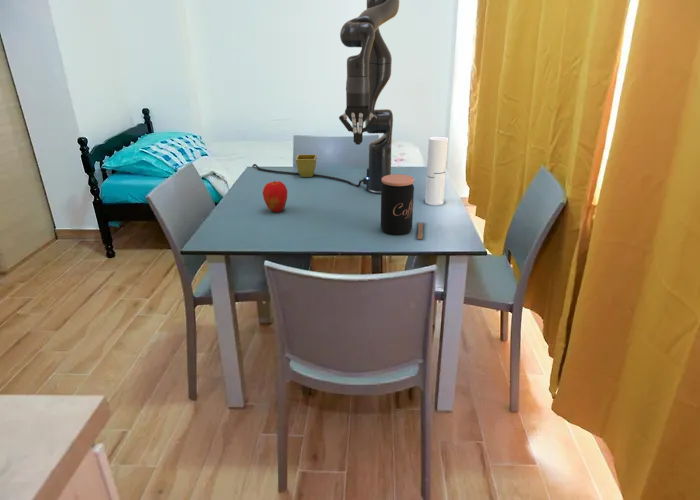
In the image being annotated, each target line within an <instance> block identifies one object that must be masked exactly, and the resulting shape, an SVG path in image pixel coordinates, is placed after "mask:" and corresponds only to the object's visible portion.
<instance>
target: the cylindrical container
mask: <svg viewBox="0 0 700 500" xmlns="http://www.w3.org/2000/svg"><path fill="white" fill-rule="evenodd" d="M427 145H428V146H427V160H426V161H427V163H426V180H425V181H426V182H425V198H424V202H425V204H426V205H429V206H440V205H441V206H442V205H444V203H445V202H444V201H445V190H446V189H445V188H446V176H447V163H448V162H447V161H448V148H449V137H446V136H436V135H435V136H430V137H428V144H427Z"/></svg>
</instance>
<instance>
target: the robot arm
mask: <svg viewBox="0 0 700 500" xmlns="http://www.w3.org/2000/svg"><path fill="white" fill-rule="evenodd" d="M399 9H400V0H366V9H364V10H363V11H362V12H361V13H360V14H359V16H356V17H354V18H352V19H349V20H348V21H346V22H345V23H344V24H343V25H342V27H341V28H340V32H339V37H340V38H339V39H340V42H341V44H342V45H344V47H346V48H361V50H360V52H359V53H358V54H356V55H351V56H348V57H347V58H346V80H345V81H346V82H345V97H346V98H345V101H346V102H345V103H346V104H345V105H346V107H345V110H344V113H343V114H340V115H339V116H338V119H339V121H340V122H341V123H342V125H343V126H344V127H345V128H346V130H347V131H348V132H351V133H352V134H353V143H354V144H355V145H359V146H360V145H361V144H362V143H363V139H364V135H363V134H364V133H368V134H370V135H371V134H382V135H381V136H380V137H379V138H377V139H375V140H373V141H370V142H369V144H368V167H367V168H366V176H365V177H363V178H362V179H360V180H359V181H358V184H355V183H353V182H351V181H349V180H347V179H343V178H339V177H335V176H330V175H323V174H316V173H314V174H313V176H312V177H319V178H325V179H330V180H336V181H340V182H344V183H347V184H349V185H351V186H354V187H356V188H358V187H360V186H361V185H362V184H363V185H365V186H366V191H368V192H370V193H373V194H379V195H381V186H382V184H383V183H382V177H384V176H387V175H392V142H393V126H394V115H393V111H392V109H387V108H385V109H384V108H380V109H375V108H376V104H377V101H378V98H379V97H380V95H381V93H382V91H383V90H384V89H385V86H386V85H387V84H388V83H389V80H390V79H391V76H392V63H393V62H392V60H393V59H392V54H391V51H390V49H389V47H388V46H387V43H386V42H385V40H384V38H383V36H382V34H381V31H380V27H381V26H382V25H383V24H386V22H388V21H390V20H392V19H394V18H395V17H396V16H397V14H398V13H399ZM348 119H349V121H350V122H351V123H350V122H349V121H348ZM251 167H252V168H256V169H257V170H259V171H262V172H269V173H277V174H284V175H285V174H286V175H298V176H300V174H299V172H294V171H283V170H273V169H268V168H267V169H266V168H261V167H259V165H257V164H256V163H253V164H252V166H251Z"/></svg>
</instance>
